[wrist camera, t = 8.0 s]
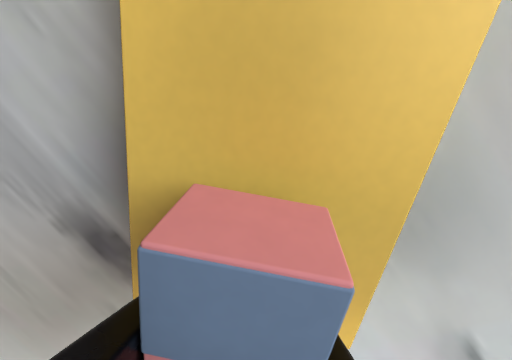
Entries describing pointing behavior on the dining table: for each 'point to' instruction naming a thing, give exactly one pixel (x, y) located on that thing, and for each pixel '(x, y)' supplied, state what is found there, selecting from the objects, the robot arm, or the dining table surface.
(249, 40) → the sponge
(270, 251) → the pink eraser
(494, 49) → the dining table surface
